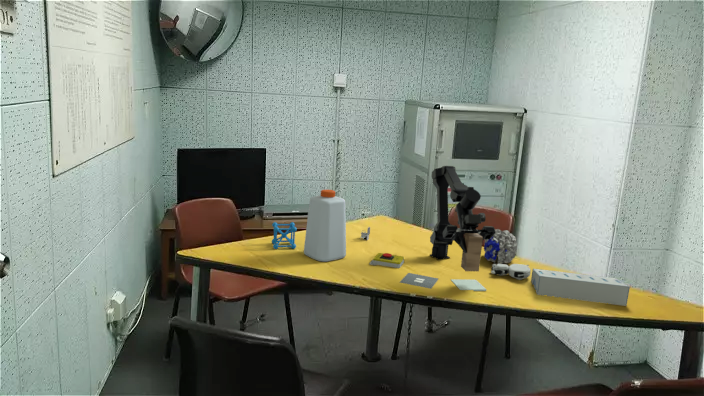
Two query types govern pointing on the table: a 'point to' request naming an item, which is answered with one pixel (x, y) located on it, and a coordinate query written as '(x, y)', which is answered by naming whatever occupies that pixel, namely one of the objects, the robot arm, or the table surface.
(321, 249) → the plastic bottle
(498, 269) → the robot toy
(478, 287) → the pad
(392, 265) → the emergency button
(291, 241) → the molecular structure
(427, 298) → the table surface
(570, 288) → the warehouse
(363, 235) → the architectural model
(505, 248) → the educational model
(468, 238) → the walnut block
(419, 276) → the gray square plate
